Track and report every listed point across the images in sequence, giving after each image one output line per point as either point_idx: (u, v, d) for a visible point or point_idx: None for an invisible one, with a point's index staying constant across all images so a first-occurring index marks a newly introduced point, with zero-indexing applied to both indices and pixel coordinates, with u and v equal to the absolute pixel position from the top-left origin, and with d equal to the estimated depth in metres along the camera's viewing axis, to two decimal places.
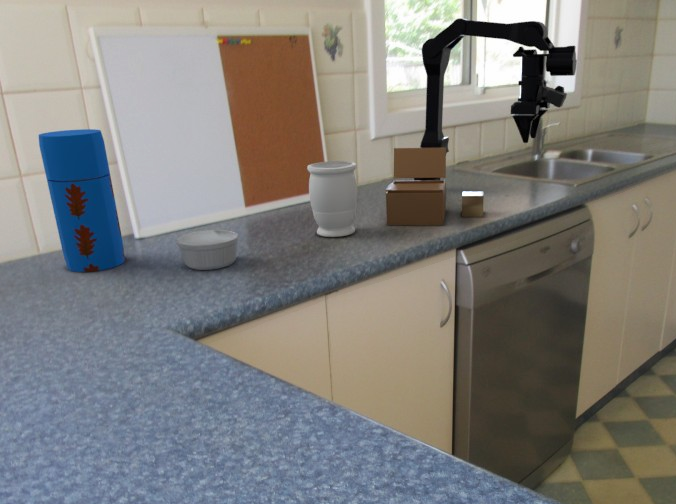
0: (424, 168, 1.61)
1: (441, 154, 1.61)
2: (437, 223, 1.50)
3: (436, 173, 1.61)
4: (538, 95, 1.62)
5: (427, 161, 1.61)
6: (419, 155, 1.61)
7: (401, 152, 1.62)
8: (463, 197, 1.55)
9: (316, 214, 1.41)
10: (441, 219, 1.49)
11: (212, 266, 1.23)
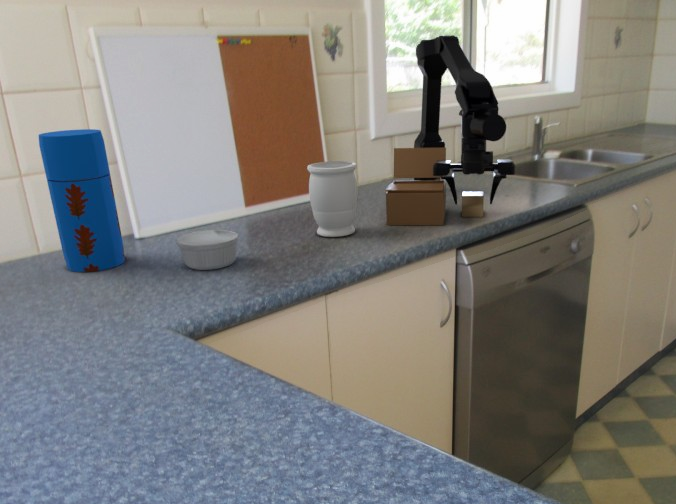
0: (424, 168, 1.61)
1: (441, 154, 1.61)
2: (437, 223, 1.50)
3: None
4: (461, 158, 1.52)
5: (427, 161, 1.61)
6: (419, 155, 1.61)
7: (401, 152, 1.62)
8: (463, 197, 1.55)
9: (316, 214, 1.41)
10: (441, 219, 1.49)
11: (212, 266, 1.23)
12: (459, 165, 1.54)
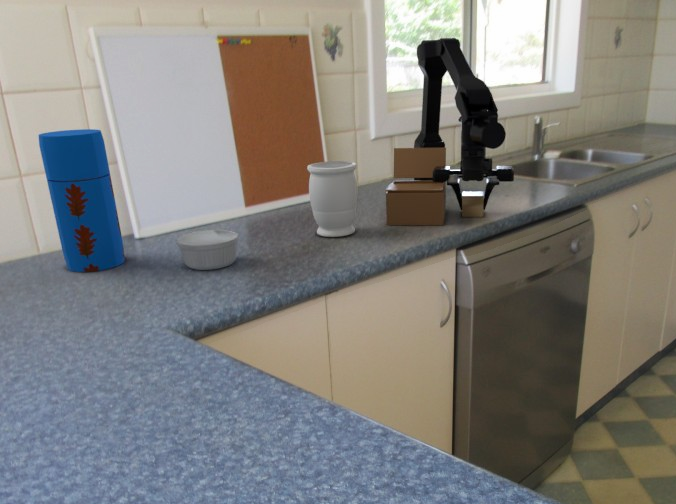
0: (424, 168, 1.61)
1: (441, 154, 1.61)
2: (437, 223, 1.50)
3: None
4: None
5: (427, 161, 1.61)
6: (419, 155, 1.61)
7: (401, 152, 1.62)
8: (463, 197, 1.55)
9: (316, 214, 1.41)
10: (441, 219, 1.49)
11: (212, 266, 1.23)
12: (458, 171, 1.55)
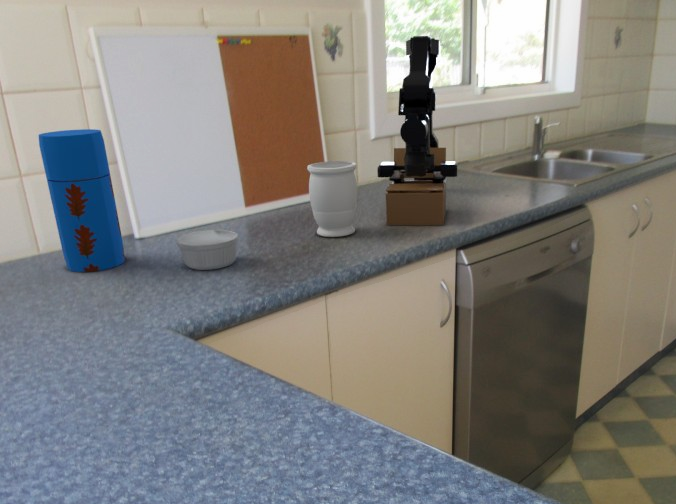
0: None
1: (441, 154, 1.61)
2: (437, 223, 1.50)
3: None
4: (404, 160, 1.54)
5: None
6: None
7: (401, 152, 1.62)
8: None
9: (316, 214, 1.41)
10: (441, 219, 1.49)
11: (212, 266, 1.23)
12: (403, 167, 1.56)
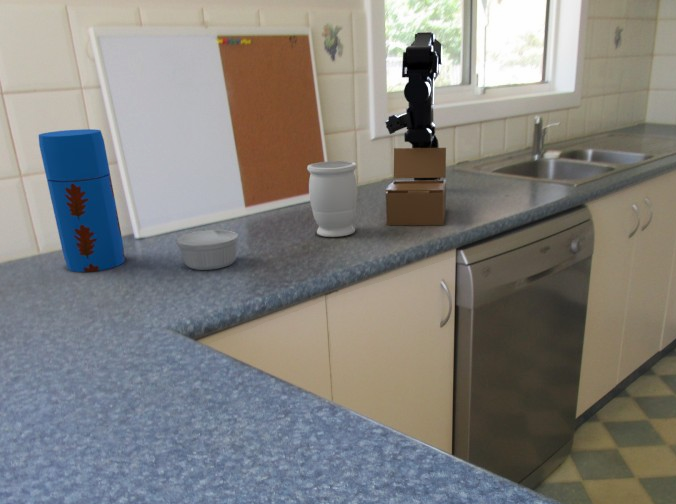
0: (424, 168, 1.61)
1: (441, 154, 1.61)
2: (437, 223, 1.50)
3: (436, 173, 1.61)
4: None
5: (427, 161, 1.61)
6: (419, 155, 1.61)
7: (401, 152, 1.62)
8: None
9: (316, 214, 1.41)
10: (441, 219, 1.49)
11: (212, 266, 1.23)
12: None
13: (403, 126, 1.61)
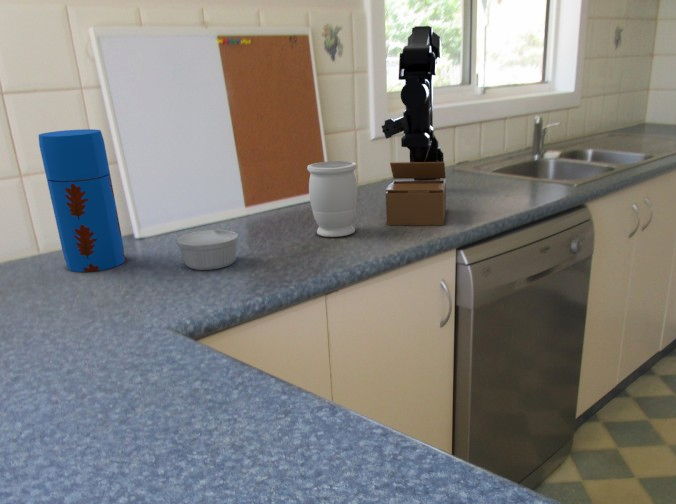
0: (423, 173, 1.59)
1: (440, 166, 1.55)
2: (437, 223, 1.50)
3: (436, 176, 1.60)
4: None
5: (426, 170, 1.57)
6: (417, 167, 1.56)
7: (398, 165, 1.56)
8: None
9: (316, 214, 1.41)
10: (441, 219, 1.49)
11: (212, 266, 1.23)
12: None
13: (400, 130, 1.54)
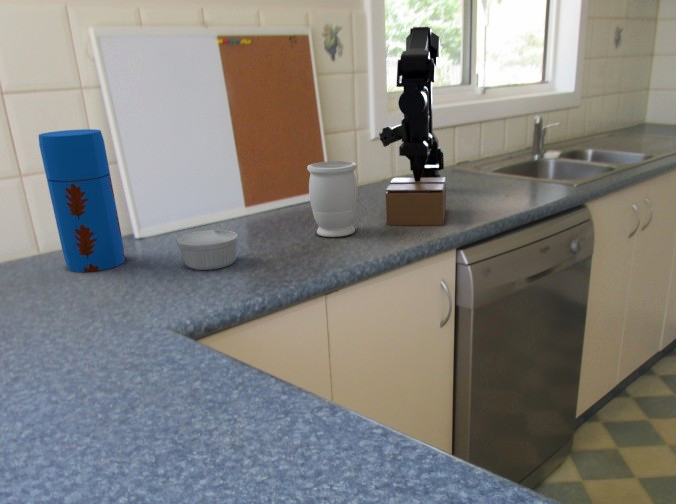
0: (423, 180, 1.59)
1: None
2: (437, 223, 1.50)
3: (436, 179, 1.60)
4: None
5: (426, 181, 1.57)
6: None
7: None
8: None
9: (316, 214, 1.41)
10: (441, 219, 1.49)
11: (212, 266, 1.23)
12: None
13: (398, 138, 1.50)
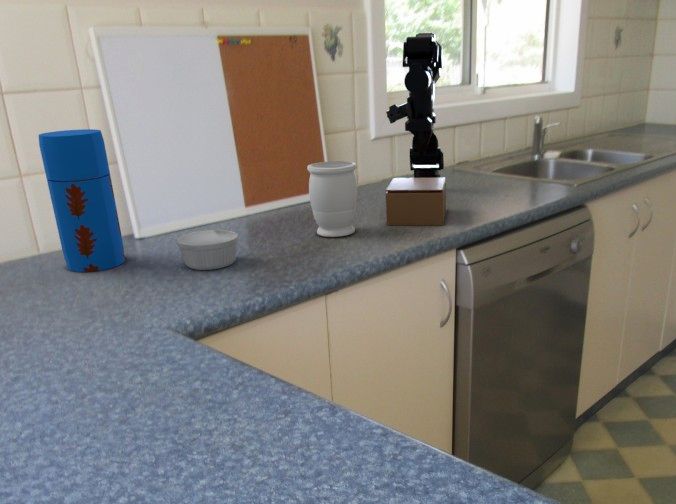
0: None
1: None
2: (437, 223, 1.50)
3: None
4: None
5: None
6: None
7: None
8: None
9: (316, 214, 1.41)
10: (441, 219, 1.49)
11: (212, 266, 1.23)
12: None
13: (404, 115, 1.62)
